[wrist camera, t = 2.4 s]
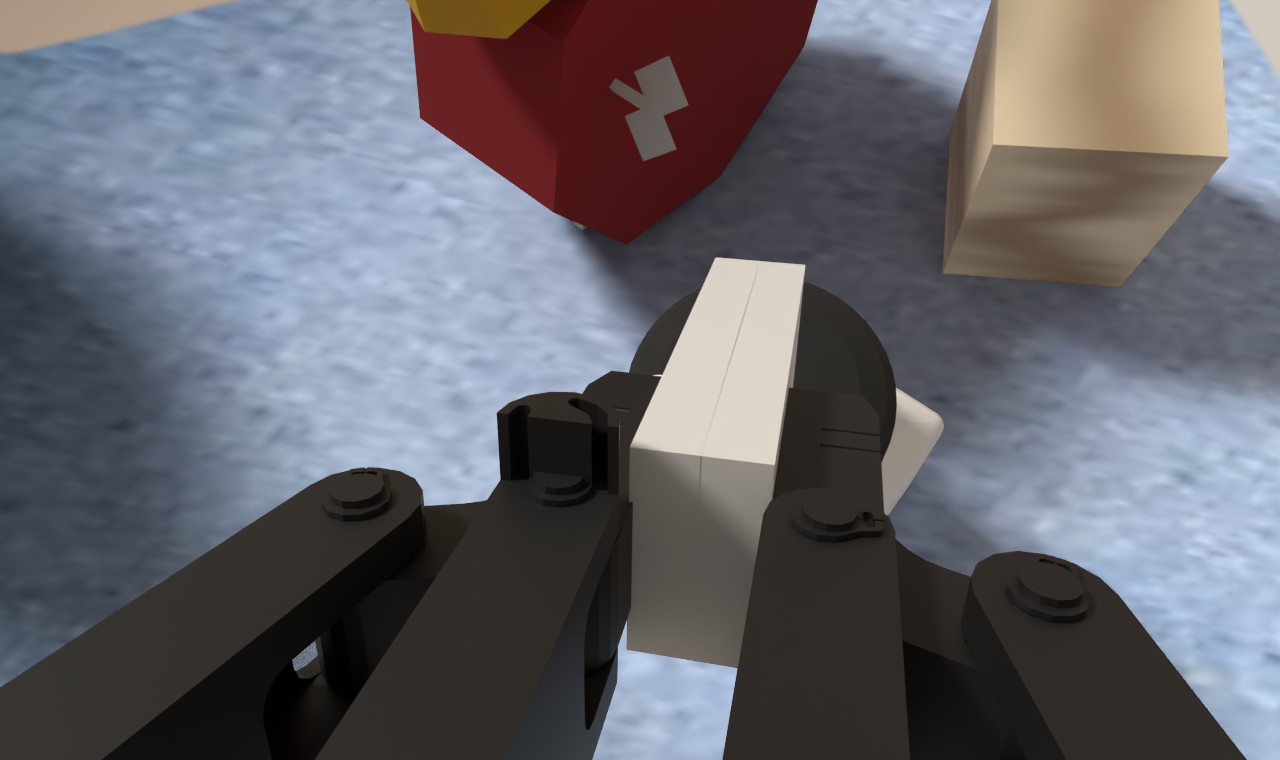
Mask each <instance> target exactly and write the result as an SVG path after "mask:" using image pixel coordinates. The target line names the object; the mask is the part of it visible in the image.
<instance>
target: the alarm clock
mask: <svg viewBox="0 0 1280 760" xmlns="http://www.w3.org/2000/svg"><path fill="white" fill-rule="evenodd" d="M817 1H818V0H407V2H408V3H409V5H410V10H411V21H412V32H413V43H414V54H415V65H416V76H417V87H418V98H419V109H420V118H421V119H422V120H424V121H425V122H427V123H428V124H429V125H431V126H432V127H434V128H435V129H436V130H438V131H439V132H441V133H442V134H444V135H445V136H446V137H448V138H449V139H451V140H452V141H453V142H455V143H456V144H458V145H459V146H460V147H462V148H463V149H465V150H466V151H468V152H469V153H470V154H472V155H473V156H475V157H476V158H477V159H479V160H480V161H482V162H483V163H485V164H486V165H487V166H489V167H490V168H492V169H493V170H494V171H496V172H497V173H499V174H500V175H501V176H503V177H504V178H506V179H507V180H509V181H510V182H511V183H513V184H514V185H516V186H517V187H518V188H520V189H521V190H523V191H524V192H525V193H527V194H528V195H530V196H531V197H533V198H534V199H535V200H537V201H538V202H540V203H541V204H542V205H544V206H545V207H547V208H548V209H549V210H551V211H552V212H554V213H556V214H558V215H561V216H563V217H565V218H567V219H570V220H572V221H573V224H574V225H575V226H577V227H578V228H579V229H581V230H584V229H586V228H590V229H592V230H595V231H597V232H599V233H602V234H604V235H606V236H608V237H611V238H613V239H615V240H618V241H620V242H622V243H624V244H628V243H629V242H631V241H632V240H633V239H635V238H636V237H637V236H639V235H640V234H641V233H643V232H644V231H646V230H647V229H648V228H650V227H651V226H652V225H654V224H655V223H656V222H658V221H659V220H661V219H662V218H663V217H665V216H666V215H667V214H669V213H670V212H671V211H673V210H674V209H675V208H677V207H678V206H680V205H681V204H682V203H684V202H685V201H686V200H688V199H689V198H690V197H692V196H693V195H694V194H696V193H697V192H699V191H700V190H701V189H703V188H704V187H705V186H707V185H708V184H709V183H711V182H712V181H714V180H715V179H716V178H718V177H719V176H720V175H721V174H722V173H723V171H724V170H725V168H726V166H727V165H728V163H729V162H730V160H731V159H732V157H733V156H734V154H735V153H736V151H737V149H738V148H739V146H740V145H741V143H742V142H743V140H744V139H745V137H746V136H747V134H748V132H749V131H750V129H751V128H752V126H753V125H754V123H755V122H756V120H757V118H758V117H759V115H760V114H761V112H762V111H763V109H764V108H765V106H766V105H767V103H768V101H769V100H770V98H771V97H772V95H773V94H774V92H775V91H776V89H777V88H778V86H779V84H780V83H781V81H782V80H783V78H784V77H785V75H786V74H787V72H788V70H789V69H790V67H791V66H792V64H793V63H794V61H795V60H796V58H797V57H798V55H799V53H800V52H801V50H802V49H803V47H804V45H805V42H806V38H807V35H808V32H809V28H810V25H811V21H812V18H813V15H814V11H815V8H816V5H817Z"/></svg>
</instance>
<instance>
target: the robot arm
mask: <svg viewBox="0 0 1280 760" xmlns="http://www.w3.org/2000/svg"><path fill="white" fill-rule="evenodd" d="M804 275H805V265H802V264H790V263H778V262H766V261H754V260H742V259H730V258H717V257H716V258H715V260H714V262H713V264H712V267H711V269H710V271H709V273H708V276H707V278H706V280H705V282H704V284H703V287H702V289H701V291H700V293H699V295H698V298H697V300H696V302H695V304H694V306H693V309H692V311H691V313H690V315H689V317H688V320H687V322H686V324H685V326H684V328H683V331H682V333H681V335H680V337H679V340H678V342H677V344H676V346H675V348H674V351H673V353H672V355H671V357H670V359H669V362H668V364H667V366H666V368H665V370H664V373H663V375H662V376H653V375H644V374H635V373H626V372H616V371H611V372H609V373H607V374H606V375H604V376H602V377H600V378H599V379H597V380H595V381H594V382H592V383H590V384H589V385H588V386H587V388H586V389H585V391H584V392H583V394H580V393H575V392H547V393H541V394H535V395H528V396H526V397H523V398H521V399H518V400H515V401H513V402H510V403H508V404H507V405H506V406H505V407H504V408H502V409H501V410H500V411H499V412H497V424H498V441H499V458H500V476H501V480H500V482H499V483H498V485H497V486H496V488H495V489H494V491H493V492H492V494H491V495H490V497H489V498H488V500H485V501H481V502H473V503H465V504H451V505H435V506H424V499H423V490H422V489H421V487H420V486H419V484H418V483H417V481H416V480H415V479H414V478H412V477H410V476H408V475H406V474H404V473H402V472H400V471H395V470H389V469H383V468H370V467H368V468H366V469H365V468H356V469H351V470H349V471H345V472H341V473H337V474H333V475H330V476H328V477H326V478H324V479H322V480H320V481H318V482H316V483H314V484H312V485H310V486H308V487H307V488H305V489H304V490H302V491H301V492H299V493H298V494H296V495H294V496H293V497H291V498H290V499H288V500H287V501H285V502H284V503H282V504H281V505H279V506H278V507H276V508H275V509H273V510H272V511H270V512H268V513H267V514H265V515H264V516H262V517H261V518H259V519H258V520H256V521H255V522H253V523H252V524H250V525H249V526H247V527H245V528H244V529H242V530H241V531H239V532H238V533H236V534H235V535H233V536H232V537H230V538H229V539H227V540H226V541H224V542H223V543H221V544H219V545H218V546H216V547H215V548H213V549H212V550H210V551H209V552H207V553H206V554H204V555H203V556H201V557H200V558H198V559H196V560H195V561H193V562H192V563H190V564H189V565H187V566H186V567H184V568H183V569H181V570H180V571H178V572H177V573H175V574H174V575H172V576H170V577H169V578H167V579H166V580H164V581H163V582H161V583H160V584H158V585H157V586H155V587H154V588H152V589H151V590H149V591H147V592H146V593H144V594H143V595H141V596H140V597H138V598H137V599H135V600H134V601H132V602H131V603H129V604H128V605H126V606H124V607H123V608H121V609H120V610H118V611H117V612H115V613H114V614H112V615H111V616H109V617H108V618H106V619H105V620H103V621H102V622H100V623H98V624H97V625H95V626H94V627H92V628H91V629H89V630H88V631H86V632H85V633H83V634H82V635H80V636H79V637H77V638H75V639H74V640H72V641H71V642H69V643H68V644H66V645H65V646H63V647H62V648H60V649H59V650H57V651H56V652H54V653H53V654H51V655H49V656H48V657H46V658H45V659H43V660H42V661H40V662H39V663H37V664H36V665H34V666H33V667H31V668H30V669H28V670H26V671H25V672H23V673H22V674H20V675H19V676H17V677H16V678H14V679H13V680H11V681H10V682H8V683H7V684H5V685H4V686H2V687H0V760H592V759H593V755H594V752H595V749H596V746H597V743H598V740H599V737H600V734H601V730H602V727H603V724H604V721H605V718H606V715H607V712H608V709H609V705H610V702H611V699H612V696H613V693H614V690H615V687H616V684H617V670H618V644H619V641H620V638H621V635H622V632H623V629H624V626H625V624H626V621H627V650H633V651H639V652H645V653H651V654H657V655H663V656H669V657H675V658H681V659H687V660H693V661H699V662H705V663H711V664H717V665H723V666H729V667H735V668H738V670H737V676H736V682H735V688H734V694H733V700H732V706H731V712H730V718H729V724H728V730H727V736H726V742H725V748H724V754H723V760H1246V758H1245V757H1244V756H1243V754H1242V753H1241V752H1240V751H1239V749H1238V748H1237V747H1236V745H1235V744H1234V743H1233V742H1232V740H1231V739H1230V738H1229V736H1228V735H1227V734H1226V733H1225V731H1224V730H1223V729H1222V727H1221V726H1220V725H1219V724H1218V722H1217V721H1216V720H1215V718H1214V717H1213V716H1212V715H1211V713H1210V712H1209V711H1208V709H1207V708H1206V707H1205V706H1204V704H1203V703H1202V702H1201V700H1200V699H1199V698H1198V697H1197V695H1196V694H1195V693H1194V691H1193V690H1192V689H1191V688H1190V686H1189V685H1188V684H1187V682H1186V681H1185V680H1184V679H1183V677H1182V676H1181V675H1180V673H1179V672H1178V671H1177V670H1176V668H1175V667H1174V666H1173V664H1172V663H1171V662H1170V661H1169V659H1168V658H1167V657H1166V655H1165V654H1164V653H1163V652H1162V650H1161V649H1160V648H1159V646H1158V645H1157V644H1156V643H1155V641H1154V640H1153V639H1152V638H1151V636H1150V635H1149V634H1148V632H1147V631H1146V630H1145V629H1144V627H1143V626H1142V625H1141V623H1140V622H1139V621H1138V620H1137V618H1136V617H1135V616H1134V614H1133V613H1132V612H1131V611H1130V609H1129V608H1128V607H1127V605H1126V604H1125V603H1124V602H1123V600H1122V599H1121V598H1120V596H1119V595H1118V594H1117V593H1116V592H1115V591H1114V590H1112V589H1111V588H1110V587H1109V586H1108V585H1107V584H1106V583H1105V582H1104V581H1103V580H1102V579H1101V578H1099V577H1098V576H1096V575H1094V574H1092V573H1090V572H1089V571H1087V570H1085V569H1083V568H1081V567H1080V566H1078V565H1076V564H1074V563H1071V562H1069V561H1066V560H1063V559H1061V558H1056V557H1054V556H1050V555H1046V554H1039V553H1030V552H1021V551H1014V552H1007V553H999V554H993V555H992V556H990V557H988V558H986V559H984V560H983V561H981V562H979V563H977V565H976V567H975V569H974V572H973V574H972V576H971V577H969V576H966V575H963V574H960V573H957V572H954V571H951V570H948V569H946V568H943V567H940V566H938V565H936V564H933V563H931V562H928V561H926V560H924V559H922V558H921V557H919V556H917V555H916V554H914V553H912V552H911V551H909V550H907V549H906V548H905V547H904V546H903V545H902V544H901V543H900V542H898V541H897V540H896V539H895V531H894V528H893V526H892V523H891V521H890V518H889V517H888V516H887V515H886V514H885V513H884V500H883V482H882V464H881V455H880V453H881V445H880V427H879V414H878V413H877V412H876V411H875V409H874V408H873V407H872V406H871V405H870V404H869V403H868V401H867V400H866V399H865V398H864V397H863V396H862V395H854V394H844V393H835V392H826V391H817V390H807V389H798V388H793V382H794V372H795V363H796V353H797V343H798V333H799V324H800V314H801V304H802V295H803V285H804ZM314 641H315V642H316V648H317V653H318V656H317V657H316V658H315V659H313V660H312V661H311V662H310V663H309V664H308V665H306V666H305V667H303V668H301V669H299V670H298V671H295V670H294V668H293V663H292V660H293V659H294V658H295V657H296V656H297V655H298V654H300V653H301V652H302V651H303V650H304V649H305V648H307V647H308V646H309V645H310V644H311V643H313V642H314Z"/></svg>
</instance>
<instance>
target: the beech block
mask: <svg viewBox="0 0 1280 760" xmlns="http://www.w3.org/2000/svg"><path fill="white" fill-rule="evenodd" d="M1227 158H1228V141H1227V125H1226V109H1225V93H1224V77H1223V60H1222V44H1221V28H1220V12H1219V0H991V4H990V7H989V10H988V13H987V16H986V20H985V23H984V26H983V29H982V33H981V36H980V39H979V42H978V45H977V49H976V52H975V55H974V58H973V62H972V65H971V68H970V71H969V74H968V78H967V81H966V84H965V87H964V90H963V94H962V97H961V100H960V103H959V107H958V110H957V113H956V116H955V119H954V123H953V126H952V129H951V132H950V146H949V165H948V183H947V201H946V219H945V237H944V255H943V273H944V274H957V275H970V276H983V277H996V278H1008V279H1021V280H1034V281H1047V282H1059V283H1072V284H1085V285H1098V286H1110V287H1121V286H1122V285H1123V284H1124V282H1125V281H1126V280H1127V279H1128V277H1129V276H1130V275H1131V274H1132V273H1133V271H1134V270H1135V269H1136V268H1137V267H1138V265H1139V264H1140V263H1141V262H1142V261H1143V259H1144V258H1145V257H1146V256H1147V255H1148V253H1149V252H1150V251H1151V250H1152V248H1153V247H1154V246H1155V245H1156V244H1157V242H1158V241H1159V240H1160V239H1161V238H1162V236H1163V235H1164V234H1165V233H1166V232H1167V230H1168V229H1169V228H1170V227H1171V226H1172V224H1173V223H1174V222H1175V221H1176V220H1177V218H1178V217H1179V216H1180V215H1181V213H1182V212H1183V211H1184V210H1185V209H1186V207H1187V206H1188V205H1189V204H1190V203H1191V201H1192V200H1193V199H1194V198H1195V197H1196V195H1197V194H1198V193H1199V192H1200V191H1201V189H1202V188H1203V187H1204V186H1205V184H1206V183H1207V182H1208V181H1209V180H1210V178H1211V177H1212V176H1213V175H1214V174H1215V172H1216V171H1217V170H1218V169H1219V168H1220V166H1221V165H1222V164H1223V163H1224V162H1225V160H1226V159H1227Z"/></svg>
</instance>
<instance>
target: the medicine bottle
mask: <svg viewBox="0 0 1280 760" xmlns="http://www.w3.org/2000/svg"><path fill="white" fill-rule="evenodd" d="M701 289H702V288H701ZM701 289H699V290H697V291H695V292H693V293H691V294H689V295H688V296H686V297H684V298H683V299H682V300H680V301H679V302H677V303H676V304H675V305H673V306H672V307H671V308H670V309H668V310H667V311H666V312H665V313H664V314H663V315H662V316H661V317H660V318H659V319H658V320H657V321H656V323H655V324H654V325H653V326H652V327H651V329H650V330H649V331H648V332H647V334H646V336H645V337H644V339H643V341H642V342H641V344H640V345H639V347H638V349H637V352H636V354H635V356H634V359H633V361H632V363H631V367H630V371H629V373H635V374H644V375H653V376H662V375H663V373H664V370H665V368H666V366H667V364H668V362H669V359H670V357H671V355H672V353H673V351H674V348H675V346H676V344H677V342H678V340H679V337H680V335H681V333H682V331H683V328H684V326H685V324H686V322H687V320H688V317H689V315H690V313H691V311H692V309H693V306H694V304H695V302H696V300H697V298H698V295H699V293H700V291H701ZM793 388H798V389H807V390H817V391H826V392H835V393H844V394H854V395H862V396H863V397H864V398H865V399H866V400H867V401H868V403H869V404H870V405H871V406H872V407H873V408H874V409H875V411H876V412H877V413H878V414H879V427H880V445H881V453H880V455H881V464H882V482H883V500H884V513H885V514H886V515H887V516H888V515H889V514H890V512H891V511H892V509H893V508H894V507H895V505H896V504H897V502H898V501H899V500H900V498H901V497H902V495H903V494H904V493H905V491H906V490H907V488H908V487H909V485H910V484H911V482H912V480H913V479H914V477H915V476H916V474H917V472H918V471H919V469H920V468H921V466H922V464H923V463H924V461H925V460H926V458H927V456H928V455H929V453H930V452H931V450H932V448H933V447H934V445H935V444H936V442H937V440H938V439H939V437H940V436H941V434H942V432H943V429H944V424H943V420H942V418H941V417H940V416H939V415H938V414H937V413H936V412H934V411H932V410H931V409H929V408H928V407H926V406H925V405H923V404H921V403H920V402H918V401H917V400H915V399H914V398H912V397H910V396H909V395H907V394H906V393H904V392H903V391H901V390H899V389H898V388H896V385H895V381H894V376H893V371H892V368H891V365H890V362H889V360H888V357H887V354H886V352H885V350H884V348H883V346H882V345H881V343H880V341H879V339H878V337H877V336H876V334H875V333H874V332H873V330H872V329H871V328H870V326H869V325H868V324H867V322H866V321H865V320H864V319H863V318H862V317H861V316H860V315H859V314H858V313H857V312H856V311H855V310H854V309H852V308H851V307H850V306H848V305H847V304H846V303H845V302H843V301H842V300H841V299H839V298H838V297H836V296H834V295H832V294H831V293H829V292H827V291H825V290H824V289H821V288H819V287H816V286H814V285H811V284H809V283H806V282H804V285H803V295H802V304H801V314H800V324H799V333H798V343H797V353H796V363H795V372H794V382H793Z"/></svg>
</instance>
